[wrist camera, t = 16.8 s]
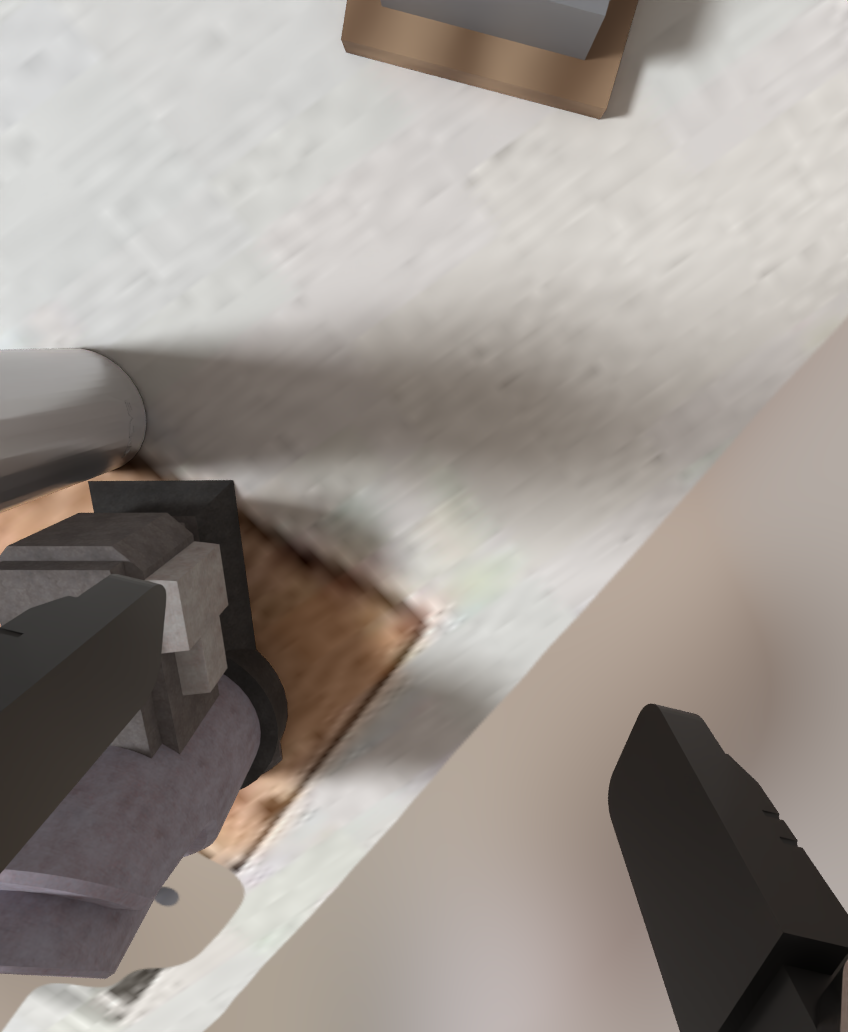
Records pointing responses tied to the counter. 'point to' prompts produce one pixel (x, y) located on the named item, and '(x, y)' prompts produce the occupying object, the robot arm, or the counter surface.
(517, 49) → the socket board
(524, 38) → the socket
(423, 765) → the counter surface
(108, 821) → the juicer
